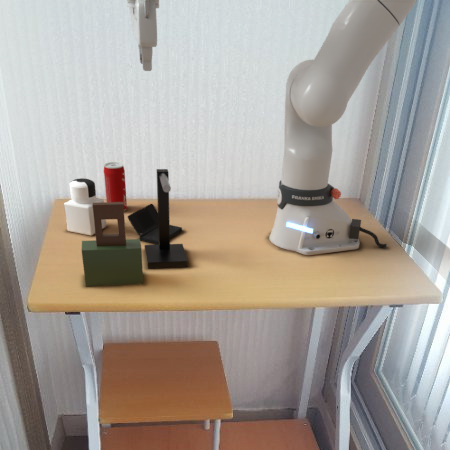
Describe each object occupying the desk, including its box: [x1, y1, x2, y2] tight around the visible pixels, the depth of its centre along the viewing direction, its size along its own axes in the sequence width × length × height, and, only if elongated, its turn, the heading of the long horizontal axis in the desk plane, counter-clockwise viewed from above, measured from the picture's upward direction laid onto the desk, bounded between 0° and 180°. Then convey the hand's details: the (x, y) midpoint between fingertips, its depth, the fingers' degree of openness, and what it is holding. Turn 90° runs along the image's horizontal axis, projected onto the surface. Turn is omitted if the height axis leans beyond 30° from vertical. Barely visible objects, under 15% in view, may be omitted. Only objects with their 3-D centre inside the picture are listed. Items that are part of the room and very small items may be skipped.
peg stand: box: [144, 168, 189, 270], centre depth 129 cm, size 9×11×19 cm
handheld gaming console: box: [127, 203, 183, 245], centre depth 145 cm, size 12×7×10 cm
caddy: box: [81, 201, 144, 287], centre depth 120 cm, size 12×5×16 cm, turn 100°
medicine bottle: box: [63, 177, 107, 236], centre depth 144 cm, size 7×7×12 cm
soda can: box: [103, 161, 128, 212], centre depth 156 cm, size 6×6×12 cm
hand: (145, 66), depth 123 cm, fingers open, 8 cm apart
